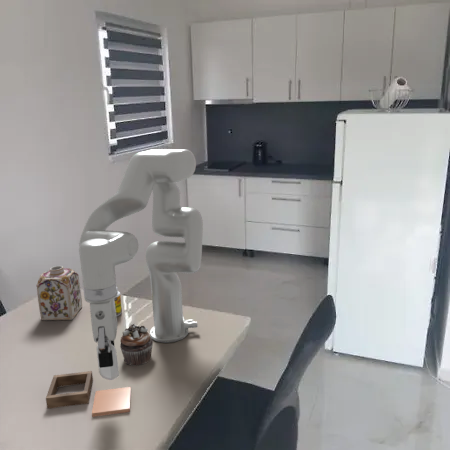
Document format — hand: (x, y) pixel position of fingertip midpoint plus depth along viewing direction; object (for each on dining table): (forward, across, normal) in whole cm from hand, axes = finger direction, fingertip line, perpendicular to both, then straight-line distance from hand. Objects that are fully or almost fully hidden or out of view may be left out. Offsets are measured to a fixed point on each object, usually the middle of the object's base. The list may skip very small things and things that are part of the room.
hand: (107, 359), depth 110 cm
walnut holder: (+13, +6, +11) cm, 18 cm away
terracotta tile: (+13, 0, 0) cm, 13 cm away
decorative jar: (+13, +57, +22) cm, 63 cm away
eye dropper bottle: (+5, 0, 0) cm, 5 cm away
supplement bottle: (+12, +52, +3) cm, 54 cm away
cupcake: (+13, +20, -6) cm, 25 cm away
